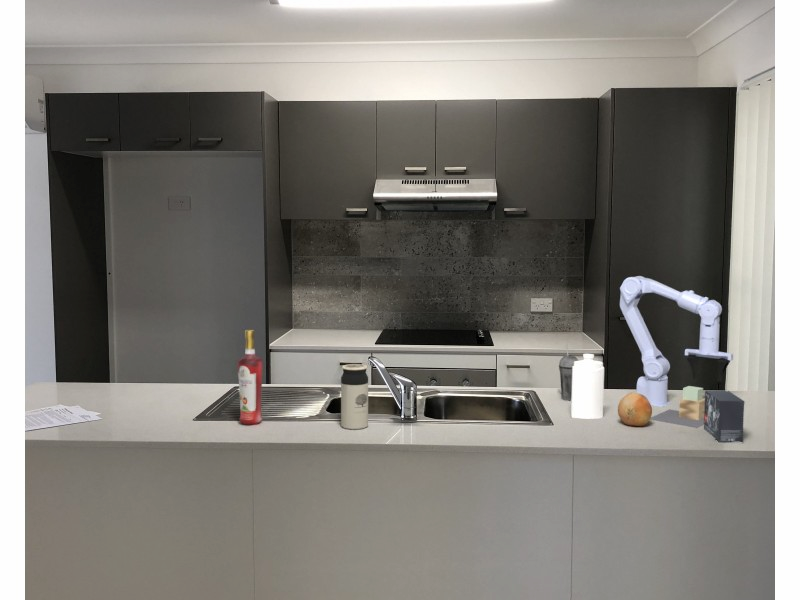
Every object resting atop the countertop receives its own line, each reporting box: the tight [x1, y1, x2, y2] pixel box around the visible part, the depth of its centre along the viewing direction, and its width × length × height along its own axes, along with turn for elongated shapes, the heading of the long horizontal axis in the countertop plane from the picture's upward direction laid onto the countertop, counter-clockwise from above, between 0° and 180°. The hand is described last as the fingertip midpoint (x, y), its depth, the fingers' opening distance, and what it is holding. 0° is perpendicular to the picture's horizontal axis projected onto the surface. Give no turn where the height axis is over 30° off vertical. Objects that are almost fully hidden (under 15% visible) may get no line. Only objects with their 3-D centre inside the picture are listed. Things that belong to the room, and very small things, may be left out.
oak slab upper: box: [678, 397, 705, 411], centre depth 223 cm, size 6×6×3 cm
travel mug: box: [340, 363, 369, 430], centre depth 210 cm, size 8×8×18 cm
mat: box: [649, 408, 704, 429], centre depth 221 cm, size 15×17×1 cm
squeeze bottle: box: [570, 353, 605, 420], centre depth 222 cm, size 10×20×5 cm
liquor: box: [237, 329, 264, 426], centre depth 212 cm, size 7×7×28 cm
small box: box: [703, 390, 745, 443], centre depth 202 cm, size 13×7×12 cm, turn 174°
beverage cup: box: [558, 342, 579, 402], centre depth 247 cm, size 7×7×20 cm
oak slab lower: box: [678, 407, 704, 420], centre depth 223 cm, size 6×6×3 cm
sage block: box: [682, 385, 704, 401], centre depth 222 cm, size 4×4×4 cm
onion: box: [617, 392, 653, 427], centre depth 213 cm, size 10×10×10 cm
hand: (707, 379), depth 231 cm, fingers open, 7 cm apart
